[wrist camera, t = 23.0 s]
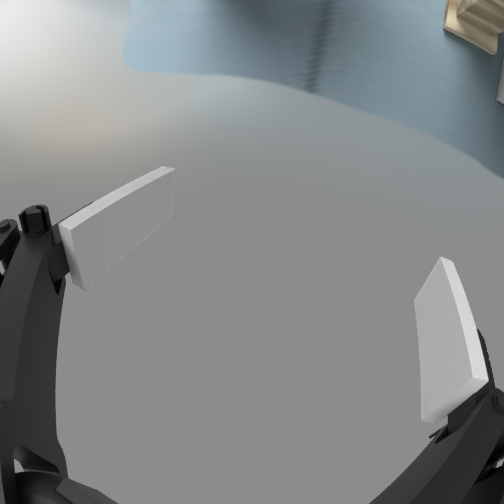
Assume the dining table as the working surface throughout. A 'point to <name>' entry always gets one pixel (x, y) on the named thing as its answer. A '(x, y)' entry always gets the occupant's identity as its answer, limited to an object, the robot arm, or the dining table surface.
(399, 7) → the dining table surface
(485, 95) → the dining table surface
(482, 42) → the birch pedestal
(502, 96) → the white open box
